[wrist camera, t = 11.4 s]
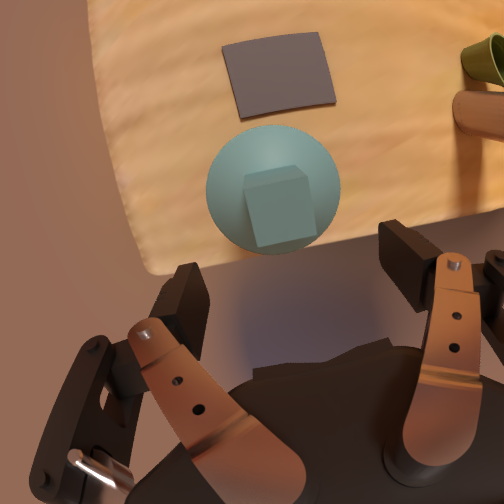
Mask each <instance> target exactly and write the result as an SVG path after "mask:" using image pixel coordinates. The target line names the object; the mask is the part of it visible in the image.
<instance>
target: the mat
mask: <svg viewBox="0 0 504 504" xmlns="http://www.w3.org/2000/svg"><path fill="white" fill-rule="evenodd" d="M222 50H223V53H224V57H225V61H226V64H227V68H228V72H229V75H230V79H231V83H232V87H233V91H234V94H235V98H236V102H237V106H238V110H239V114H240V118H245V117H250V116H254V115H259V114H264V113H269V112H274V111H279V110H285V109H291V108H297V107H303V106H310V105H318V104H326V103H335V102H337V101H336V96H335V92H334V88H333V83H332V79H331V75H330V72H329V68H328V64H327V60H326V57H325V53H324V50H323V47H322V43H321V40H320V37H319V34H318V32H310V33H298V34H288V35H280V36H273V37H266V38H260V39H254V40H249V41H244V42H239V43H234V44H230V45H226V46H222Z"/></svg>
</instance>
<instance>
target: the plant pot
mask: <svg viewBox="0 0 504 504" xmlns="http://www.w3.org/2000/svg"><path fill="white" fill-rule="evenodd" d="M461 60H462V64H463V67H464V69H465V70H466V71H467V73H468V74H469V76H470V77H471V78H473V79H475V80H479V81H483V82H488V83H492V84H496V85H500V86H502V87H504V36H503V35H501V34H499V33H496V32H495V33H492V34H491V36H490V37H489V38H487V39H485V40H484V41H482V42H479V43H477V44H474V45H472V46H469V47H467V48H465V49H463V51H462V53H461Z"/></svg>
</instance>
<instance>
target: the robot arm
mask: <svg viewBox="0 0 504 504" xmlns="http://www.w3.org/2000/svg"><path fill="white" fill-rule="evenodd" d="M453 113H454V118H455V120H456V123H457V125H458V126H459V128H460V129H461V130H462V131H463V132H464V133H466V134H468V135H473V136H478V137H482V138H486V139H491V140H495V141H499V142H503V143H504V92H494V91H460V92H458V93H457V94H456V95H455V98H454V101H453ZM378 234H379V260H380V263H381V266H382V268H383V269H384V271H385V272H386V273H387V274H388V276H389V277H390V278H391V280H392V281H393V282H394V283H395V285H396V286H397V287H398V289H399V290H400V291H401V292H402V294H403V295H404V297H405V298H406V299H407V301H408V302H409V303H410V305H411V306H412V307H413V309H414V310H415V312H416V313H419V312H422V311H425V310H428V312H429V313H428V317H427V322H426V327H425V332H424V337H423V341H422V346H421V349H419V348H415V347H408V346H392V344H391V342H390V340H389V338H384V339H381V340H378V341H375V342H371V343H368V344H365V345H361V346H357V347H355V348H353V349H351V350H349V351H348V352H345V353H343V354H341V355H339V356H337V357H335V358H333V359H331V360H329V361H326V362H322V363H284V364H279V365H273V366H267V367H261V368H255V369H253V379H252V380H249V381H247V382H244V383H242V384H241V385H239V386H237V387H235V388H234V389H232V390H231V391H229V392H228V393H227V392H226V391H225V390H224V389H223V388H222V387H221V386H220V385H219V384H218V383H217V382H216V381H215V380H214V379H213V378H212V376H211V375H210V374H209V373H208V372H207V371H206V370H205V369H204V368H203V366H202V365H201V364H200V363H199V362H198V361H200V357H201V352H202V346H203V340H204V335H205V329H206V324H207V318H208V313H209V307H210V299H209V294H208V291H207V288H206V285H205V283H204V280H203V277H202V275H201V272H200V269H199V267H198V265H197V263H196V262H193V263H188V264H183V265H179V266H178V268H177V270H176V272H175V275H174V277H173V278H170V279H169V280H168V281H167V282H166V283H165V284H164V285H163V286H162V288H161V291H160V293H159V295H158V297H157V301H155V304H154V306H153V308H152V310H151V313H150V315H149V317H148V318H146V319H143V320H141V321H139V322H138V323H136V324H135V325H134V326H133V327H132V328H131V329H130V330H129V332H128V335H127V338H128V339H126V340H123V341H120V342H117V343H114V344H111V342H110V341H109V339H108V338H107V337H106V336H104V335H98V336H95V337H93V338H91V339H89V340H88V341H86V342H85V343H84V344H83V346H82V347H81V349H80V351H79V353H78V354H77V356H76V358H75V361H74V363H73V365H72V367H71V369H70V371H69V373H68V375H67V378H66V379H65V381H64V383H63V386H62V388H61V390H60V392H59V395H58V397H57V399H56V402H55V404H54V406H53V409H52V411H51V414H50V416H49V419H48V421H47V424H46V427H45V429H44V432H43V435H42V438H41V440H40V443H39V446H38V449H37V452H36V455H35V458H34V462H33V465H32V468H31V472H30V476H29V486H30V489H31V492H32V493H33V495H34V496H35V497H36V498H37V499H38V500H40V501H42V502H44V503H46V504H504V384H501V383H499V382H497V381H494V380H492V379H490V378H487V377H485V376H483V375H480V357H481V332H482V334H483V335H484V336H485V338H486V339H487V341H488V342H489V344H490V345H491V347H492V348H493V350H494V351H495V353H496V355H497V356H498V358H499V359H500V361H501V363H502V364H503V366H504V309H503V308H502V306H503V303H504V251H500V250H490V251H488V252H487V253H486V256H485V261H484V263H482V264H471V263H470V261H469V259H468V258H466V257H465V256H463V255H461V254H458V253H443V252H442V251H441V250H440V249H438V248H437V247H436V246H435V245H434V244H432V243H431V242H429V240H427V239H426V238H424V237H423V236H422V235H421V234H420V233H419V232H417V231H415V230H412V229H410V228H406V227H405V226H404V225H402V224H401V223H400V222H399V221H397V220H396V219H394V220H389V221H385V222H380V223H379V226H378ZM103 387H105V388H106V389H107V390H108V391H109V393H108V396H107V400H106V403H105V406H104V409H103V410H102V408H101V406H100V395H101V392H102V389H103ZM147 391H151V393H152V395H153V396H154V398H155V400H156V402H157V403H158V405H159V407H160V409H161V410H162V412H163V414H164V415H165V417H166V419H167V420H168V422H169V423H170V425H171V427H172V428H173V430H174V431H175V433H176V435H177V436H178V438H179V439H180V441H181V442H180V443H179V444H178V445H177V446H176V447H175V448H174V449H173V450H172V451H171V452H170V453H169V454H168V455H167V456H166V457H165V458H164V459H163V460H162V461H161V462H160V463H159V464H157V465H156V466H155V467H154V468H153V469H152V470H151V471H150V472H149V473H148V474H147V475H146V476H145V477H144V478H143V479H141V480H140V481H139V482H138V483H137V484H135V483H134V478H133V474H132V472H131V471H130V470H129V464H130V457H131V452H132V447H133V441H134V436H135V431H136V426H137V421H138V417H139V412H140V407H141V403H142V399H143V394H144V392H147Z"/></svg>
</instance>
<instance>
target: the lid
mask: <svg viewBox="0 0 504 504" xmlns="http://www.w3.org/2000/svg"><path fill="white" fill-rule="evenodd" d="M206 199H207V204H208V209H209V211H210V214H211V217H212V219H213V220H214V222H215V224H216V225H217V227H218V228H219V230H220V231H221V232H222V233H223V234H224V235H225V236H226V237H227V238H228V239H229V240H230V241H232V242H233V243H235V244H236V245H238V246H239V247H241V248H244V249H246V250H248V251H251V252H254V253H259V254H266V255H280V254H286V253H290V252H294V251H296V250H299V249H302V248H304V247H305V246H307V245H309V244H311V243H312V242H313V241H315V240H316V239H317V238H318V237H319V236H321V235H322V234H323V232H324V231H325V230H326V229H327V228H328V226H329V225H330V223H331V222H332V220H333V218H334V216H335V214H336V211H337V208H338V205H339V200H340V179H339V174H338V171H337V168H336V165H335V163H334V161H333V159H332V157H331V155H330V154H329V153H328V151H327V150H326V149H325V148H324V147H323V145H322V144H321V143H320V142H318V141H317V140H316V139H315V138H313V137H312V136H310V135H309V134H307V133H305V132H303V131H301V130H298V129H295V128H292V127H288V126H281V125H266V126H259V127H256V128H252V129H249V130H247V131H245V132H242V133H241V134H239V135H237V136H236V137H234V138H233V139H232V140H230V141H229V142H228V143H227V144H226V145H225V146H224V147H223V148H222V149H221V150H220V152H219V153H218V154H217V156H216V157H215V159H214V161H213V163H212V165H211V167H210V170H209V173H208V177H207V183H206Z"/></svg>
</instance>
